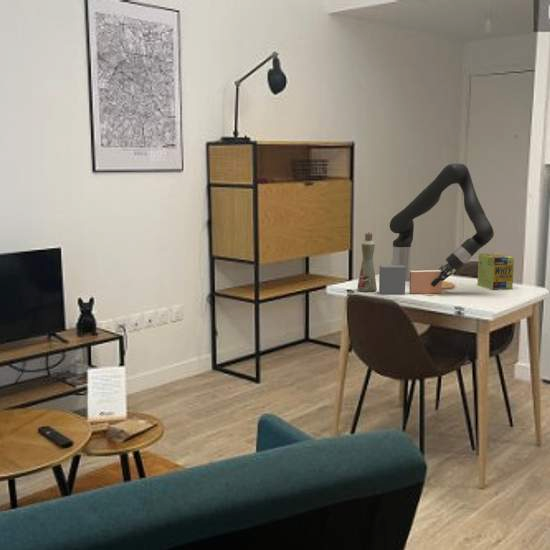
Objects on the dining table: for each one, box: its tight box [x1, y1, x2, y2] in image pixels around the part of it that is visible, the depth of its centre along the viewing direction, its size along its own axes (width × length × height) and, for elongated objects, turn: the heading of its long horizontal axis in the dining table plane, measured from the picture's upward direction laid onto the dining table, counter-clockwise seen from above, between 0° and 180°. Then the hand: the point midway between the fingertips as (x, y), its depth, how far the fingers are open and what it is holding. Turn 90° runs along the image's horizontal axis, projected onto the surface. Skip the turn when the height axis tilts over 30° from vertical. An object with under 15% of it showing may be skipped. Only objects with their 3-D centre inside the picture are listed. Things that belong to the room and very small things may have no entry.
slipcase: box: [378, 264, 406, 296], centre depth 310 cm, size 11×6×13 cm, turn 89°
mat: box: [417, 292, 446, 297], centre depth 311 cm, size 10×10×1 cm
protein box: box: [477, 253, 515, 291], centre depth 326 cm, size 10×15×16 cm
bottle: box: [357, 231, 378, 293], centre depth 316 cm, size 9×9×28 cm
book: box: [409, 269, 443, 294], centre depth 310 cm, size 14×4×10 cm, turn 89°
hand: (431, 284), depth 310 cm, fingers closed on book, 3 cm apart
